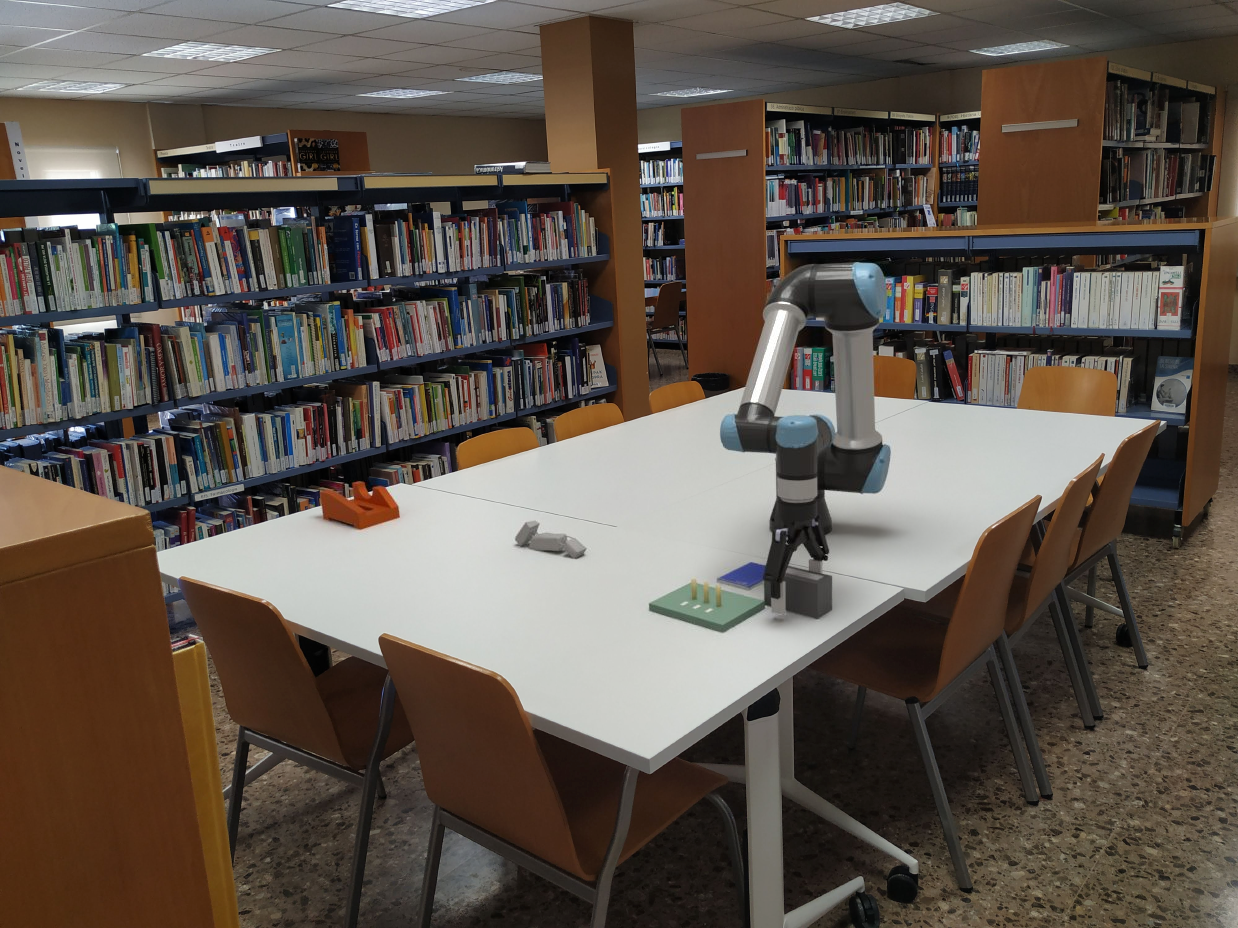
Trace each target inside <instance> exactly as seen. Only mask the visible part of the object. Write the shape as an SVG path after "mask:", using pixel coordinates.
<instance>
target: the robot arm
mask: <svg viewBox="0 0 1238 928" xmlns="http://www.w3.org/2000/svg"><path fill="white" fill-rule="evenodd" d="M887 310H888V290H887V282H886V279H885V276H884V273H883V271H882V269H881V268H880V266H879V265H877V264H876V263H872V262H859V261H857V262H841V263H840V262H839V263H838V262H836V263H823V264H822V263H820V264H819V263H818V264H817V263H811V264H806V265H802V266H799V267H798V268H796V269H793V271H791V272H789V273H788V274H786V276H785V277H783V278H782V279H781V280H780V281H779V282H778V284H776V286H775V287H774V288H773V290H772V291H771V292H770V294H769V295H768V297H767V300H766V303H765V304H764V308H763V312H762V318H763V321H764V323H763V327H762V330H761V335H760V338H759V340H758V344H757V347H756V350H755V353H754V356H753V361H752V362H751V363H752V364H751V367H750V371H749V374H748V377H747V380H746V384H745V387H744V391H743V394H742V397H741V401H740V403H739V407H738V411H737V413H732V414H729V413H728V414H726V415H725V416H724V418H723V419H722V420H721V423H720V429H719V430H720V432H719V436H720V442H721V444H722V447H723V448H724V449H725V450H728V451H735V452H740V453H758V454H759V453H762V454H763V453H765V454H774V455H775V458H774V461H775V488H776V489H775V491H776V493H775V494H776V496H775V501H774V504H773V508H772V511H771V513H770V517H769V521H768V522H769V531H770V532H772V535H771V543H770V546H769V550H768V555H767V560H766V564H765V565H766V567H765V571H764V575H763V580H765V581H769V582H770V583H771V606H770V607H771V608H770V611H771V613H773V614H777V615H782V616H785V615H786V606H785V582H784V581H783V578H784V575H785V573H786V570H787V568H788V566H790V562H791V560H792V557H793V554H794V553H795V552H796V551H798V548H799V547H800V546H801V545H803V546H804V547H805V550H806V551H807V553H808V554H809V556H810V557H811V558H812V559H811V558H809V559H808V570H809V571H813V572H818V573H822V574H823V562H827V561H828V559H829V554H830V548H829V545H828V542H827V539H826V535H827V534H829V533H831V532H832V530H833V519H832V517H831V514H830V510H829V507H828V504H827V502H826V498H825V497H826V496H825V491H832V492H833V491H834V492H842V493H853V494H861V495H863V494H875V495H876V494H878V493H880V492H881V491H882V490H883V488H884V486H885V484H886V480H887V477H888V473H889V468H890V462H891V455H892V453H891V446H890V445H889V444H886V443H884V444H883V435H882V434H881V433H880V432H879V431H877V430H876V411H875V380H874V379H875V376H874V374H875V373H874V371H875V369H874V345H873V344H874V342H873V341H874V338H873V337H874V336H873V331H874V330H875V329H876V328H877V327H878V326H879V325H880V319H881V318H884V317H885V316H886V314H887ZM810 318H811V319H812V318H817V319H818V318H821V319H824V327H825V329H826V330H827V331H829V332H830V333H831V334H832V347H833V348H832V349H833V369H834V371H833V372H834V373H833V374H834V392H835V393H834V394H835V395H834V396H835V413H836V414H835V415H836V417H835V418H836V429H835V426H834V424H833V422H832V421H831V420H830V419H829V417H827V416H825V415H823V414H818V413H815V414H810V415H805V414H804V415H803V414H800V415H799V414H798V415H795V414H792V415H787V416H779V415H778V416H776V412H777V407H778V405H779V402H780V398H781V394H782V391H783V387H784V383H785V380H786V377H787V373H788V369H789V365H790V363H791V358H792V355H793V353H794V352H793V351H794V349H795V345H796V341H797V338H798V335H799V332H800V331H801V330H802V329H803V328H804V327H805V326H806V323H807V320H808V319H810ZM778 575H779V576H778Z"/></svg>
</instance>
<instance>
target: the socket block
mask: <svg viewBox="0 0 1238 928" xmlns="http://www.w3.org/2000/svg"><path fill="white" fill-rule="evenodd" d="M778 576H779V575H778ZM783 581H784V582H785V606H786V611H787V612H790V613H794V614H798V615H802V616H805V617H809V618H813V619H816V620H818V619H819V618H822V617H823V616H824V615H826V614H828V613H829V612H831V611H832V610H833V575H830V574H827V573H826V574H825V573H823V572H822V573H818V572H813V571H809V569H805V568H799V567H796V566H791V565H788V568H787V570H786V573H785V575H784V578H783ZM763 596H764V597H763V601H765V606H767V607H771V583H770V582H769V581H765V580H764V583H763Z"/></svg>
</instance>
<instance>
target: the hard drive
mask: <svg viewBox="0 0 1238 928" xmlns="http://www.w3.org/2000/svg"><path fill="white" fill-rule="evenodd" d="M765 567H766V564H761V563H757V562H753V561H751V562H750V561H749V562H747V563H746V564H743V565H742V566H740V567H738V568H736V569H734V570H732V571H729V572H727V573H725V574H724V575H721V576H719V577H718V578H716V583H718V584H721V585H724V586H730V587H733V588H737V589H741V590H745V591H747V592H748V591H750V590H752V589H755V588H756V587H758V586H760V585H762V584H764V580H763V575H764V571H765Z"/></svg>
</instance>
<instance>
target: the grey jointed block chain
mask: <svg viewBox="0 0 1238 928" xmlns="http://www.w3.org/2000/svg"><path fill="white" fill-rule="evenodd" d="M540 524H541V523H540V522H538V521H537V520H531V521H525V522H524V523H523V525H522V527H521V528H520V529H519V531H518V533H517V534H516V535H515V537H514V540H515V542H516V544H518V545H519V546H521V547H522V546H523V545H526V544H528V543H529V545H528V549H530V550H534V551H538V550H539V551H540V552H545V551H555V552H559V551H560V552H561V551H562V550H564V552H566V553H567V555H569V556H570V558H572V559H576V558H579V557H581V556H584V554H585V553H586V551H587V549H588V548H587V547H586V546H585V545H583V544H582V542H580V541H579V540H578V539H577V538H576V537H572V536H570V535H567V534H566V533H554V532H553V533H552V532H543V533H538V529H539V526H540ZM568 538H570V539H568Z"/></svg>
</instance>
